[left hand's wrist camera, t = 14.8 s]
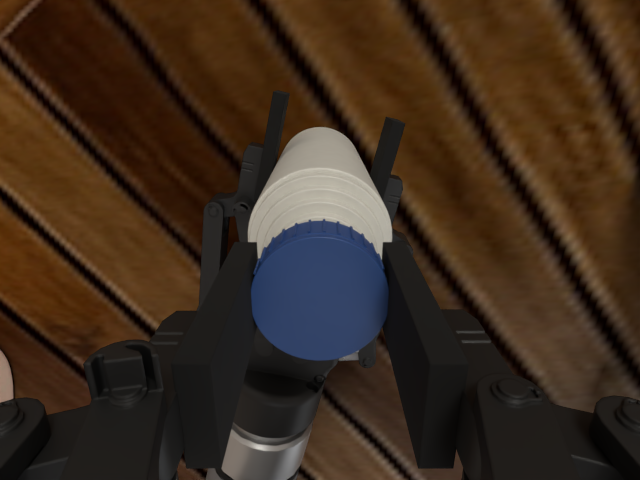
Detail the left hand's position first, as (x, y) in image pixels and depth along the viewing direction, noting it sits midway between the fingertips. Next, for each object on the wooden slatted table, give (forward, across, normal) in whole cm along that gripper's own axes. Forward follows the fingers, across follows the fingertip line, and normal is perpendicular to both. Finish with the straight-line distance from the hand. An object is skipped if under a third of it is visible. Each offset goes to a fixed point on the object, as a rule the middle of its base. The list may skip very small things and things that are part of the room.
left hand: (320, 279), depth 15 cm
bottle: (+20, 0, 0) cm, 20 cm away
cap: (-1, 0, 0) cm, 1 cm away
